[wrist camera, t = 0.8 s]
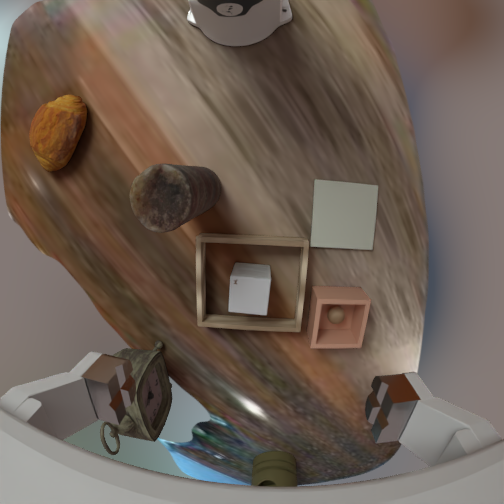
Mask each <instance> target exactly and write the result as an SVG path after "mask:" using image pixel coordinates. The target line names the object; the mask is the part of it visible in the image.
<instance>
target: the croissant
mask: <svg viewBox="0 0 504 504" xmlns="http://www.w3.org/2000/svg"><path fill="white" fill-rule="evenodd" d="M86 118H87V108H86V105H85V103H83V102H82V99H81V98H80V97H79V96H73V95H65V96H63V97H59V98H58V99H56V100H55V101H50V102H49V103H48V104H43V105H42V106H41V107H40V108H39V110H38V111H37V113H36V114H35V116H34V118H33V120H32V123H31V127H30V132H29V133H30V134H29V136H30V146H31V147H32V148H33V152H34V154H35V155H36V157H37V159H38V161H39V162H40V164H41V166H42V167H43V168H44V169H45V170H47V171H48V172H51V171H56V170H59V169H60V168H62V167H64V166H65V165H66V164H67V163H68V162H69V161H70V159H71V157H72V154H73V153H74V150H75V148H76V146H77V143H78V141H79V139H80V136H81V134H82V132H83V130H84V127H85V124H86Z"/></svg>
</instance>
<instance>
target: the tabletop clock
mask: <svg viewBox="0 0 504 504" xmlns="http://www.w3.org/2000/svg"><path fill="white" fill-rule="evenodd" d="M162 346H163V344H162V342H161V341H156V342H155V348H154V349H153V350H152V351H149V350H138V349H128V348H126V349H123V350H121V351H119V352H117V353H116V354H114V355H113V356H115V357H119V358H124V359H128V360H130V361H131V363H132V368H133V371H132V373H131V374H130V375H131V376H132V377H133V379H134V380H135V383H136V395H135V399H134V401H133V403H132V405H130V406H128V407H126V408H125V409H126V415H125V416H124V418H123V420H122V421H121V423H120V425H117V424H113V423H109V422H104V423H103V424H102V426H101V429H100V436H101V441H102V444H103V446H104V448H105V449H106V451H107V452H108V453H109V454H111V455H116V454H117V453H118V452H119V448H120V441H119V436H118V434H120V435H124V436H129V437H133V438H139V439H144V440H149V441H154V442H155V441H156V440H157V438H158V437H159V435H160V433H161V431H162V429H163V427H164V425H165V422H166V420H167V417H168V414H169V411H170V407H171V403H172V392H171V388H172V384H171V383H170V382H169V376H168V372H167V368H166V365H165V361H164V358H163V355H162V353H161V351H156V350H157V349H160V348H162ZM106 424H107V425H108V426H109V427H110V428H111V432H110V436H111V437H113V438H114V437H115V439H116V443H117V449H116V451H115V452H112V451H111V450H110V449H109V447H108V445H107V443H106V441H105V438H104V427H105V425H106Z"/></svg>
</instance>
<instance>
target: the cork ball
mask: <svg viewBox="0 0 504 504" xmlns="http://www.w3.org/2000/svg"><path fill="white" fill-rule="evenodd" d="M327 318H328V320H329V321H330V322H331V323H332V324H339V323H341V322H342V321H343V320H344V318H345V311H344V310H343V308H341V307H339V306H333V307H331V308H330V309H329V310H328V313H327Z"/></svg>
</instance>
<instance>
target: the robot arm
mask: <svg viewBox="0 0 504 504" xmlns="http://www.w3.org/2000/svg"><path fill="white" fill-rule="evenodd" d="M188 3H189V6H190V8H191V9H190V11H189V13H188V16H187V20H188V22H189V23H190V24H192V25H194V26H196V27H199V28H200V29H201V30H202V32H203V33H204V34H205V35H206V36H207V37H208V38H209V39H211V40H212V41H214V42H216V43H219V44H222V45H227V46H245V45H250V44H254V43H257V42H259V41H261V40H263V39H265V38H266V37H268V36H269V35H270V34H271V33H273V31H274V30H275V29H276V28H277V27H279V26H280V25H283V24H285V23H288V22H289V21H291V20H292V12H291V8H290V5H289V2H288V0H188ZM283 11H286V12H283ZM132 371H133V368H132V363H131V361H130V360H128V359H124V358H119V357H115V356H111V355H107V354H103V353H99V352H94V351H92V352H89V353H88V354H87V355H86V356H85V357H84V358H83V359H82V360H81V361H80V362H79V363H78V364H77V365H76V366H75V367H74V368H73V369H72V370H71V371H70V372H69V373H67V372H64V373H61V374H57V375H54V376H51V377H47V378H44V379H40V380H37V381H34V382H30V383H26V384H22V385H19V386H15V387H13V388H11V389H10V390H9V391H8V392H7V393H6V394H5V395H3V396H2V397H1V398H0V504H504V439H502V438H501V437H500V435H499V434H498V433H497V431H496V430H495V429H494V427H493V426H492V425H491V423H490V422H489V421H488V420H486V419H484V418H482V417H479V416H477V415H475V414H473V413H471V412H469V411H467V410H464V409H462V408H460V407H458V406H456V405H454V404H452V403H449V402H447V401H445V400H443V399H441V398H439V397H436V398H434V396H433V395H432V394H431V392H430V391H429V389H428V388H427V387H426V385H425V384H424V382H423V381H422V379H421V378H420V377H419V375H418V374H417V373H415V372H409V373H402V374H396V375H385V376H375V378H374V379H373V382H372V385H371V387H372V389H373V392H372V393H371V394H370V395H369V396H368V398H367V401H366V408H365V412H366V417H367V420H368V422H370V423H371V424H373V427H372V429H371V431H372V434H373V436H374V439H375V442H376V443H383V442H391V441H398V440H399V442H400V443H401V444H402V445H404V446H405V447H406V448H407V449H409V450H410V451H411V452H412V453H414V454H415V455H416V456H417V457H419V458H420V459H421V460H422V461H424V462H425V463H426V464H427V465H429V466H430V467H428V468H424V469H420V470H416V471H412V472H408V473H404V474H399V475H394V476H390V477H385V478H379V479H373V480H367V481H360V482H353V483H344V484H334V485H321V486H300V487H270V486H248V485H235V484H225V483H217V482H209V481H202V480H196V479H189V478H184V477H179V476H174V475H169V474H164V473H160V472H155V471H151V470H147V469H144V468H140V467H136V466H133V465H129V464H126V463H123V462H119V461H116V460H113V459H110V458H107V457H104V456H101V455H98V454H95V453H93V452H90V451H88V450H85V449H83V448H80V447H77V446H75V445H73V444H70V443H68V442H66V441H63V439H65V438H67V437H69V436H70V435H73V434H74V433H76V432H78V431H80V430H82V429H83V428H85V427H87V426H89V425H90V424H92V423H94V422H96V421H97V420H98V419H99V420H103V421H106V422H109V423H113V424H117V425H120V423H121V421H122V420H123V418H124V416H125V415H126V409H125V408H126V407H128V406H130V405H132V403H133V401H134V399H135V395H136V383H135V380H134V379H133V377H132V376H131V375H130V374H131V373H132Z"/></svg>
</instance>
